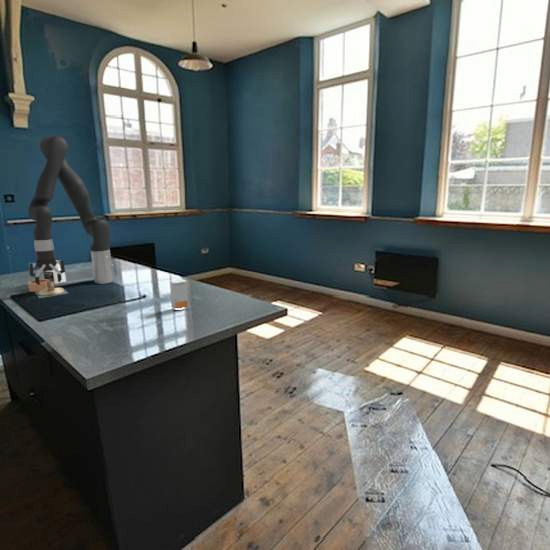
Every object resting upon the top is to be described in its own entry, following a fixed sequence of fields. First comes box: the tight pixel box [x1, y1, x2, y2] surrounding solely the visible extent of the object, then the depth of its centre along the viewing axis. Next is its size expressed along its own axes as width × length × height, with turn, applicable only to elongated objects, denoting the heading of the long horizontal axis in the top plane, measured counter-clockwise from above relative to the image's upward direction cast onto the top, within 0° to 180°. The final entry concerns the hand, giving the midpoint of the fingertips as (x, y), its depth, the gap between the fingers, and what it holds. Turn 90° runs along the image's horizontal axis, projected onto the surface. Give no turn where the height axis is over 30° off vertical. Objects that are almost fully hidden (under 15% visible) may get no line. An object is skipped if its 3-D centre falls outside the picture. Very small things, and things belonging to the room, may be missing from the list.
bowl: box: [27, 278, 50, 293], centre depth 188 cm, size 9×9×4 cm
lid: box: [39, 281, 65, 297], centre depth 180 cm, size 10×10×6 cm
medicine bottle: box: [42, 259, 67, 285], centre depth 201 cm, size 7×7×12 cm
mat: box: [35, 289, 69, 299], centre depth 181 cm, size 12×12×1 cm
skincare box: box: [169, 278, 189, 309], centre depth 155 cm, size 6×4×12 cm
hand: (49, 283), depth 179 cm, fingers open, 8 cm apart
